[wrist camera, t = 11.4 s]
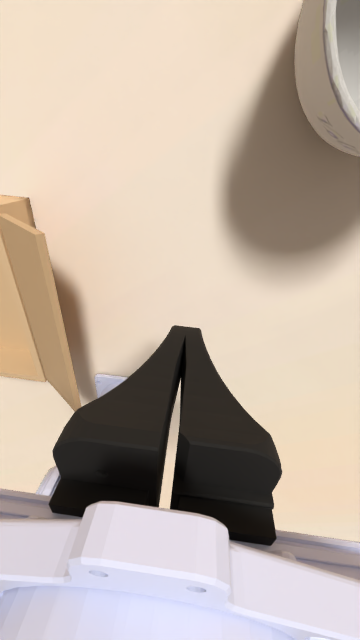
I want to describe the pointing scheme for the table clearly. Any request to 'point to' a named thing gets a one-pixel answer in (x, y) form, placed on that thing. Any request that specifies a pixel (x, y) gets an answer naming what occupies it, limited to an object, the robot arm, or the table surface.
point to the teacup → (330, 70)
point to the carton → (16, 307)
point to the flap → (41, 304)
